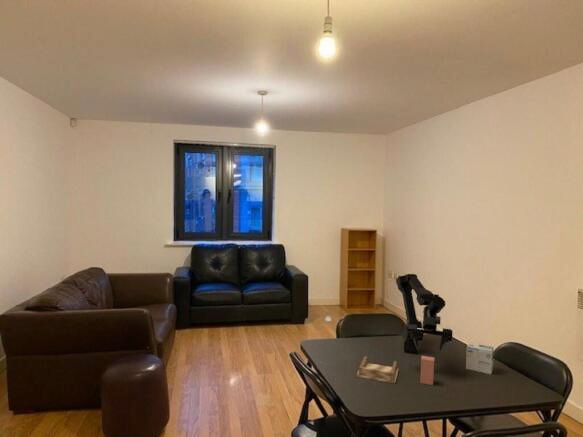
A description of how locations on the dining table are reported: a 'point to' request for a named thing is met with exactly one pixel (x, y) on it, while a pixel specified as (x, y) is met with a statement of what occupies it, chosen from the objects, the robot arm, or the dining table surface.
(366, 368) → the rack
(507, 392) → the dining table surface
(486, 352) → the light bulb box
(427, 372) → the pink rectangular block
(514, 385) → the dining table surface
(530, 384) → the dining table surface
